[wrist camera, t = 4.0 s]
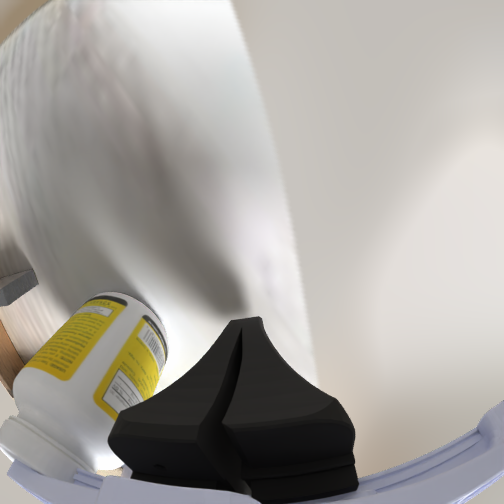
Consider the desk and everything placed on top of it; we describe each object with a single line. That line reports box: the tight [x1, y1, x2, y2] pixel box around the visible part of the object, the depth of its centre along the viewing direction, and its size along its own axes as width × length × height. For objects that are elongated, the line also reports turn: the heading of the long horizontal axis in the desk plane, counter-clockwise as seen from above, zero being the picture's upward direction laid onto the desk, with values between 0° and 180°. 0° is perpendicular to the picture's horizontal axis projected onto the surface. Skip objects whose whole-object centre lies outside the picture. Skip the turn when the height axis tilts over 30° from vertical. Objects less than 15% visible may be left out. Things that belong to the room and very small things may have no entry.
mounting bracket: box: [0, 269, 38, 398], centre depth 12 cm, size 9×9×3 cm
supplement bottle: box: [0, 292, 169, 484], centre depth 9 cm, size 5×5×10 cm
